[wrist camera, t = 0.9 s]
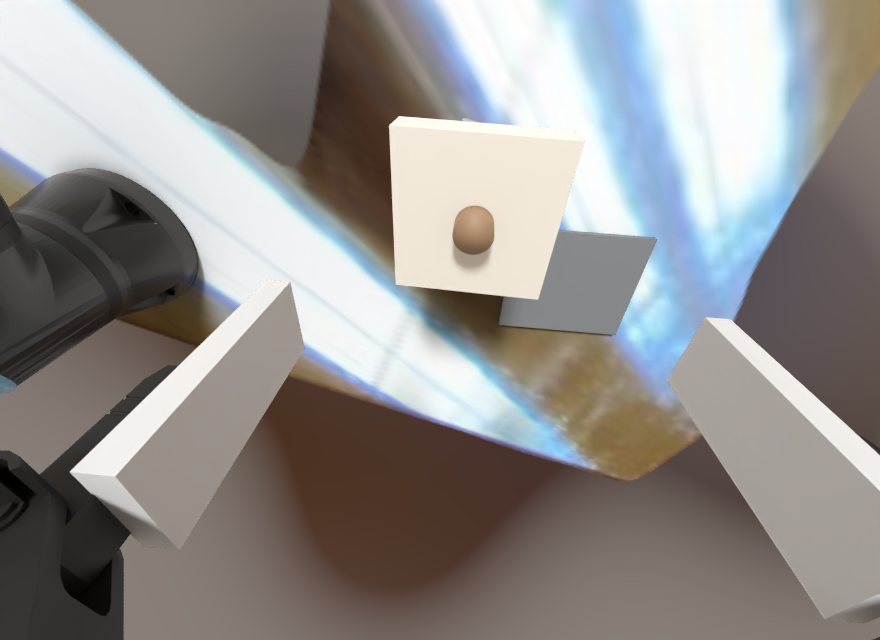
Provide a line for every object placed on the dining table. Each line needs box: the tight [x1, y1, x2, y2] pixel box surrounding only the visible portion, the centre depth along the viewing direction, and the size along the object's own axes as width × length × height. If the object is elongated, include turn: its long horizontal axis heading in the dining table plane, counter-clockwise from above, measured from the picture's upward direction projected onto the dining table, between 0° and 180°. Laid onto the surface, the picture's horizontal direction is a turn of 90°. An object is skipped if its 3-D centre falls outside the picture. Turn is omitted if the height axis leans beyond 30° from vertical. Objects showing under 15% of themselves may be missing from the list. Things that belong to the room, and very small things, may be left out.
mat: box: [499, 230, 657, 335], centre depth 38 cm, size 14×12×1 cm
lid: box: [389, 116, 584, 300], centre depth 21 cm, size 10×10×4 cm
